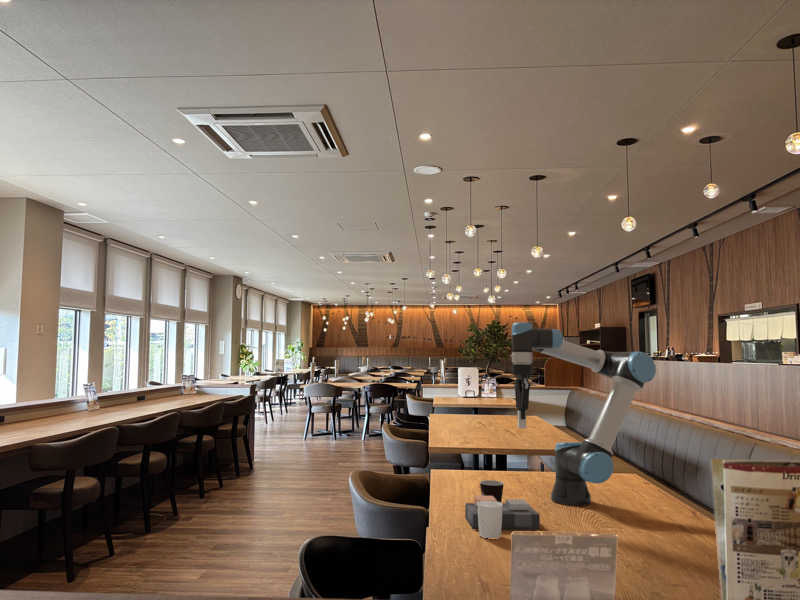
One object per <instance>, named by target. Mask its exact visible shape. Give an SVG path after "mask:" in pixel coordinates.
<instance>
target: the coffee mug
mask: <svg viewBox="0 0 800 600" xmlns="http://www.w3.org/2000/svg"><path fill="white" fill-rule="evenodd" d="M479 485H480V496H493V497H494V498H495V499H496V500H497V502H500V503H503V501H502V500H503V492H504V482H503V481H499V480H493V479H492V480H491V479H486V480H485V479H484V480H480V481H479Z"/></svg>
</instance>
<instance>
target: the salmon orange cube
mask: <svg viewBox="0 0 800 600" xmlns="http://www.w3.org/2000/svg"><path fill="white" fill-rule="evenodd" d="M479 501H496V502H497V500H496V499H495V498H494V497H493V496H481V495H473V503H476V505H477V506H478V504H477V503H478V502H479Z"/></svg>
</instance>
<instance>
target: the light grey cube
mask: <svg viewBox="0 0 800 600" xmlns="http://www.w3.org/2000/svg"><path fill="white" fill-rule="evenodd" d="M505 503H506V506H507V507H508V508H509V509H510V510H511V511H525V510H529V506H530V504H529V502H528V501H526V500H525V499H517V498H515V499H514V498H513V499H509V498H507V499H505Z"/></svg>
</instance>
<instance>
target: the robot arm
mask: <svg viewBox="0 0 800 600" xmlns="http://www.w3.org/2000/svg"><path fill="white" fill-rule="evenodd" d="M510 334H511V354H510V358H511V363H512V365H511V374H512V375H516V378H515V381H514V382H513V385H514V394H515V408H517V429H527V410H528V409H529V402H530V401H529V400H530V390H531V389H530V388H531V383H530V382H529V378H528V375H529V376H531V375H533V365H532V363H533V352H537V353H541V354H545V355H547V356H550V357H552V358H553V357H554V358H556V359H560V360H563V361H565V362H568V363H573V364H576V365H579V366H582V367H585V368H589V369H591V371H592V372H593V373H597V374H599V375H602V376H604V377H607V378H610V379H612V382H613V384H612V386H611V389H610V391H609V393H608V395H607V397H606V400H605V402H604V404H603V406H602V409H601V411H600V414H599V415H598V417H597V420H596V421H595V423H594V426H593V429H592V430H591V433H590V435H589V437H588V438H584V439H583V440H582V441H581V442H580V441H579V442H578V441H575V442H574V441H571V442H565V441H564V442H557V443H555V451H554V454H555V455H554V456H555V458H554V459H555V460H554V461H555V463H554V465H555V467H554V468H555V481H554V485H553V488H552V491H551V493H550V495H551V496H550V500H551V501H552V502H554V503H557V504H561V505H564V506H565V505H566V506H572V507H573V506H578V507H579V506H580V507H581V506H583V507H584V506H589V505H590V504H592V497H591V493H590V491H589V488H588V484H587V483H590V484H591V483H592V484H602V483H604V482H607V481H608V480H609V479H610V478H611V477H612V474H613V473H614V464H613V462H614V461H613V459H612V458H613V456H614V453H613V451H612V447H613V445H614V443H615V441H616V438H617V436H618V434H619V433H620V429H621V428H622V425H623V422H624V421H625V418H626V415H627V413H628V412H629V408H630V407H631V404H632V402H633V400H634V398H635V396H636V393H638V392H641V391H642V390H643V387H644V385H645V383H649V382H651V381H653V379H654V378H655V376H656V373H657V368H656V364H655V361H654V359H653V358H652V357H651V355H649V354H648V353H647V352H643V351H638V350H637V351H615V352H614V351H606V350H602V349H597V350H594V349H592V348H590V347H589V348H588V347H586V346H582V345H579V344H576V343H573V342H570V341H566V340H564V339H563V338H564V337H563V333H562V332H561V330H559V329H555V328H534V327H533V324H532V323H531V322H525V321H522V322H517V321H516V322H514V323H513V324H512V325H511V333H510Z"/></svg>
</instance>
